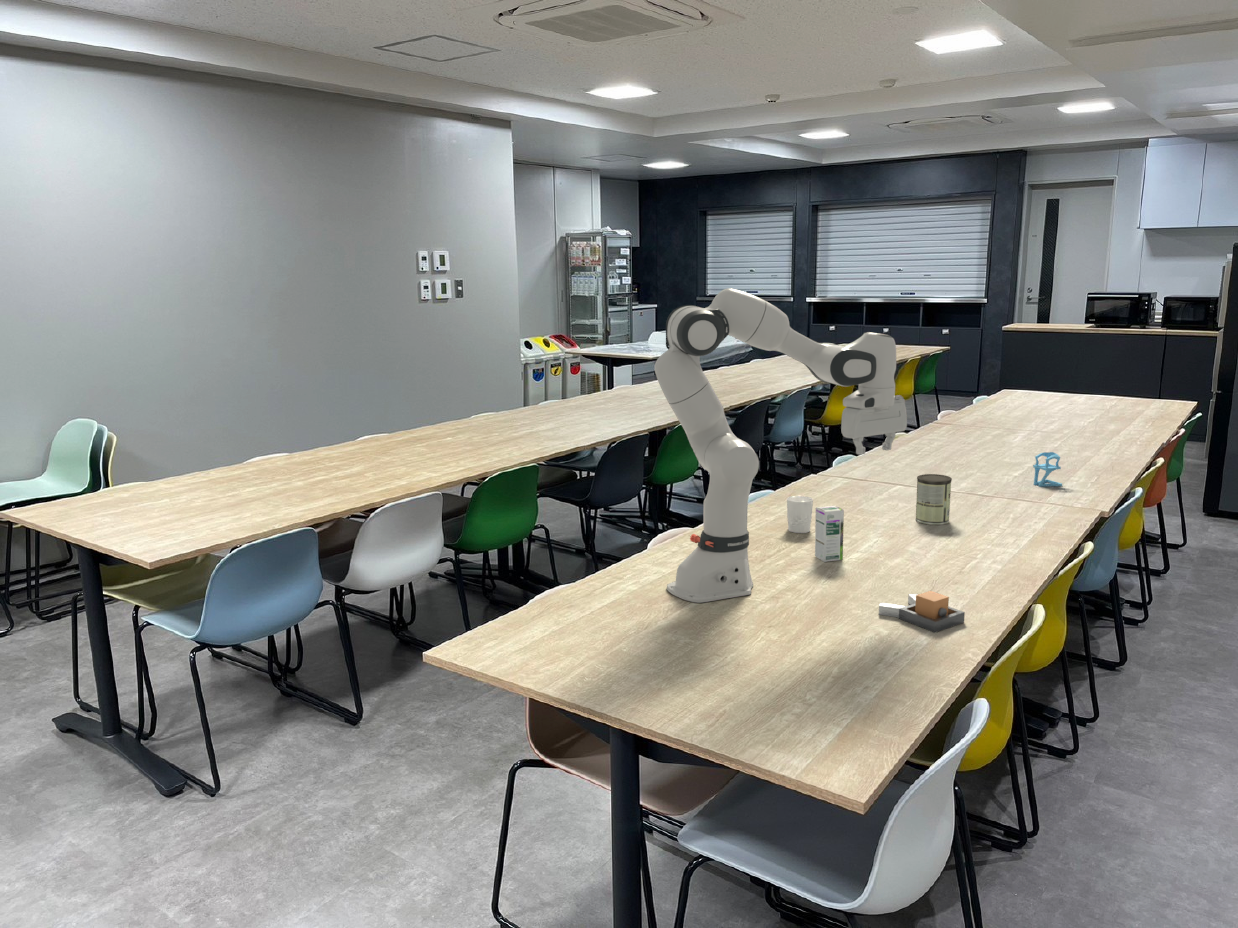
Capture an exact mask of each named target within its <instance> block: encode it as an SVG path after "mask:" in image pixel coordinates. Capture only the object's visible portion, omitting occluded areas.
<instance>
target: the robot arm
mask: <svg viewBox="0 0 1238 928" xmlns="http://www.w3.org/2000/svg"><path fill="white" fill-rule="evenodd" d="M728 336H729V337H732V338H734V339H737V340H738V341H741V342H743V343H744V344H746V345H749V346H751V347H754V348H756V349H758V350H759V349H760V350H764V351H766V352H767V351H769V352H771V351H775V352H779V353H782V354H784V355H785V356H788V357H789V358H792V359H793V360H795V361H797V362H799V363H802V364H803V365H804V366H805V367H806V368H807V369H808V371H809V372H810V373H811V374H812V375H813V377H814V378H816V379H817V381H818V380H819V381H820V382H823V383H826V384H827V383H828V384H829V383H830V384H833V385H837V386H841V387H853V386H857V385H858V389H857V390H855V391H853V392H852V393H851V394H848V395H847V396H846V397H843V399H842V406H843V407H845V408H844V409H843V410H842V412H841V413H842V414H841V423H840V425H841V426H840V429H841V434H842V436H843V437H844V438H846V439H852V442H853V444H854V447H855V454H856V455H859V456H861V455H866V448H867V447H865V446H863V445H864V444H863V441H864V438H867V437H872V436H873V437H874V436H879V435H884V436H886V438H885V440H884V442H882V447H881V449H882V450H883V451H891V450H892V446H893V445H892V444H893V442H894V440H895V438H896V433H898V432H900V433H901V432H905V430H906V429H907V427H908V416H907V414H908V413H907V407H906V406H907V405H906V400H905V399H904V396H902V395H900V394H899V395H898V394H897V395H895V394H896V382H895V374H896V371H897V345H896V341H895V338H894V337H892V336H891V335H889V334H886V333H885V334H884V333H879V332H878V333H877V332H870V331H867V332H863V334H862V335H861V336H860V337H858V338H857V339H855V340H854V341H852V342H850V343H848V344H846V345H840V344H836V343H831V342H817V341H816V340H813V339H811V338H809V337H807V336H805V335H803V333H802V334H801V333H799V332H798V331H796V330H794V329H793V328H792V326H790V321H789V317H788V315H787V314H786V313H785V312H783V311H782V310H781V309H780V308H778V307H777V306H776V305H774V304H772V303H770V302H768V301H767V300H765V299H763V298H761V297H758V296H756V295H753V294H751V293H749V292H746V291H742V290H739V289H735V288H730V287H728V288H724V289H722V290H721V291H719V292H718V293H717V294H716V295H715V297H714V298H713V300H712V301H711V304H709V306H706V307H705V308H704V307H700V306H698V305H697V306H696V305H692V304H684V305H680V306H678V307H676V308H675V309H673V310H672V311H671V312H670V314H669V315H668V317H667V320H666V323H665V347H666V349H667V350H666V351H665V352H663V353H662V354H661V355H660V356H659V357H658V358H657V359H656V360H655V363H654V373H655V376H656V379H657V381H658V385H659V387H660V389H661V391H662V393H663V395H664V397H665V400H667V402H668V404H669V406H670V407H671V409H672V412H673V413H674V414H675V416H676V418H677V419H678V422H679V423H680V425H681V427H682V429H683V430H684V434H686V437H687V440H688V442H689V445H690V447H691V449H692V451H693V453H694V455H695V457H696V460H697V461H698V463H699V465H700V466H701V467H702V468H703V469H704V470H705V471H707V472H708V474H709V484H708V489H707V494H706V496H705V498H704V500H703V511H702V512H703V523H702V524H703V527H702V528H703V529H702V531H701V534H700V536H699V535H697V534H695V533H693V534H691V535H690V538H689V540H690V542H691V543H695V544H697V547H696V548H695V549H694V550H693V551H691V553H690V554H689V555H688V556H687V557H686V558H685V559H684V560H683V561H682V562H681V563H679V565H678V566H677V570H676V576H675V581H672V582H670V583H667V584H666V590H667V591H668V593H670V594H671V595H673V596H675V597H677V598H680V599H682V600H685V601H687V602H691V603H698V604H699V603H707V602H708V603H709V602H713V601H719V600H724V599H729V598H730V599H732V598H736V597H737V598H738V597H743V596H748V595H751V594H752V588H753V586H754V582H753V579H752V575H751V569H750V562H749V552H748V547H749V545H750V532H749V531H748V512H749V511H748V508H749V507H748V506H749V497H750V492H751V489H752V484H753V479H754V478H755V477H756V475H757V474H758V472H759V467H760V461H759V456H758V454H757V453H756V452H755V450H754V449H753V447H752V446H751V445H750V444H749V443H748V442H746V441H744V440H742V439H740V438H739V437H737V436H736V435H735V434H734V433H733V431H732V429H731V427H730V425H729V423H728V420H727V418H726V414H725V409H724V406H723V404H722V403H721V401H720V399H719V397H718V395H717V393H716V392H715V390H714V388H713V386H712V385H711V383H710V380H709V379H708V377H707V375H706V374H705V372H704V371H703V368H702V366H701V362H700V361H701V360H700V358H701V357H703V356H704V357H705V356H708V355H709V354H711V353H713V352H714V351H715V350H717V348H718V347H719V346H720V344H721V343H722V342H723V341H724V340H725V339H726V338H727V337H728Z"/></svg>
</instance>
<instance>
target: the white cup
mask: <svg viewBox="0 0 1238 928" xmlns="http://www.w3.org/2000/svg"><path fill="white" fill-rule="evenodd" d="M813 504H814V498H812V497H809V496H804V495H793V496H788V497H786V510H787V511H786V512H787V513H786V515H787V516H786V519H787V531H789V532H791V533H793V534H794V533H795V534H807V533H809V532H811V525H812V524H811V523H812V517H813V516H812V515H813Z"/></svg>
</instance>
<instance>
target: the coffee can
mask: <svg viewBox="0 0 1238 928" xmlns="http://www.w3.org/2000/svg"><path fill="white" fill-rule="evenodd" d="M916 479H917V480H916V483H917V484H916V503H915V504H916V505H915V521H916V522H917V523H919V524H923V525H931V526H940V525H947V524H949V523H950V508H951V507H950V506H951V495H952V493H951V492H952V490H951V489H952V480H953V478H952V477H951V476H948V475H946V474H937V473H936V474H935V473H925V474H920V475H918V476H916Z"/></svg>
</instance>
